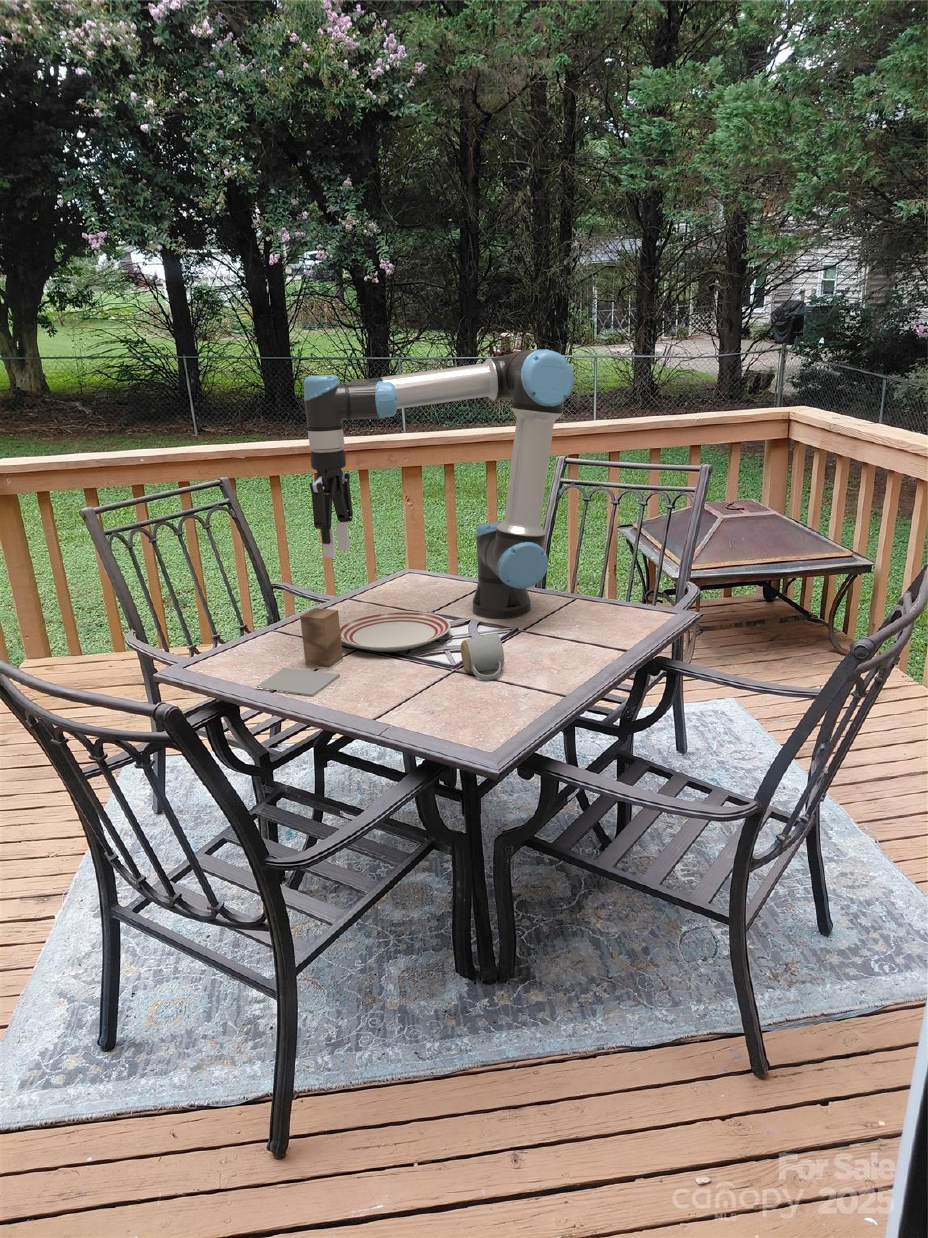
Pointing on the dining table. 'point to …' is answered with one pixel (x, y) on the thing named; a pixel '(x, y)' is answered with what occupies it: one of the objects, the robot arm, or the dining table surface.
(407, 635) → the dinner plate
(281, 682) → the grey mat
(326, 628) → the walnut block
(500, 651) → the ceramic mug
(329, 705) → the dining table surface
